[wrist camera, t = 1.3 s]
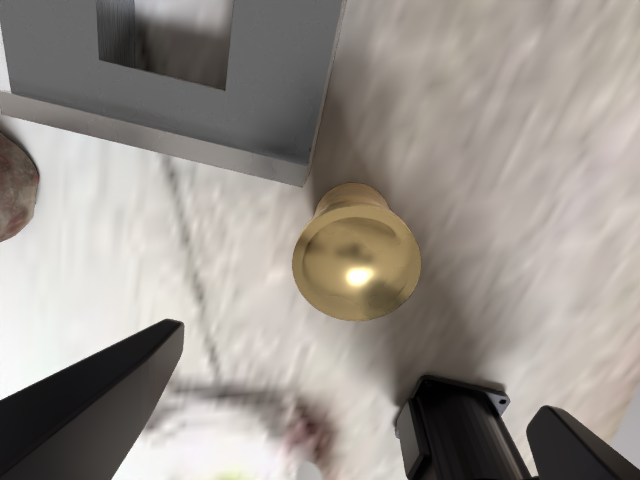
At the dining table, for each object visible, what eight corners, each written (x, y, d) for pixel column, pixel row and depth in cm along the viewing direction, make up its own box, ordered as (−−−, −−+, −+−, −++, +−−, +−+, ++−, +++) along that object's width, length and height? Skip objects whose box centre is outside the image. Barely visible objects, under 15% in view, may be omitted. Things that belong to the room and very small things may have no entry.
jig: (371, -116, 12) (379, -182, 10) (309, 174, 17) (302, 187, 14) (26, -208, 12) (-71, -306, 9) (59, 113, 17) (1, 114, 14)
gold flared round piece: (409, 187, 17) (441, 225, 12) (381, 268, 19) (396, 332, 14) (318, 165, 17) (306, 192, 11) (299, 248, 19) (282, 305, 13)
